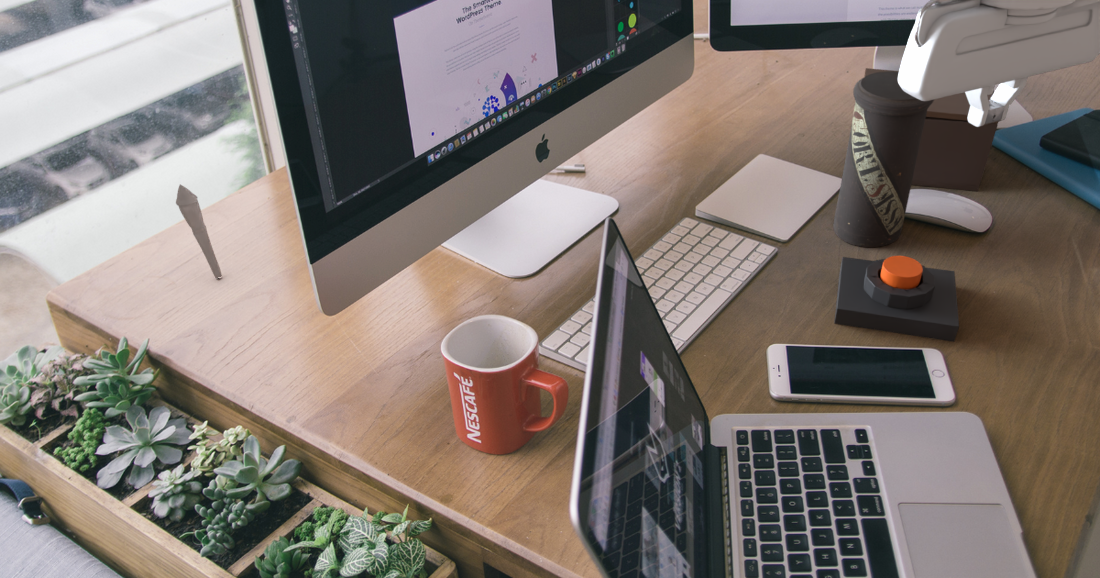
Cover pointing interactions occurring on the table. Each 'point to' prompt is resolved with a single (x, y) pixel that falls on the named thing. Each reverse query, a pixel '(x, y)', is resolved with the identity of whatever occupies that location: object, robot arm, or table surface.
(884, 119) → the container
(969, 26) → the robot arm
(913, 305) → the dark grey button base
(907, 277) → the button
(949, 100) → the brown piece
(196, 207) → the grey arrowhead stake
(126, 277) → the table surface
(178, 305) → the table surface
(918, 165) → the brown box
